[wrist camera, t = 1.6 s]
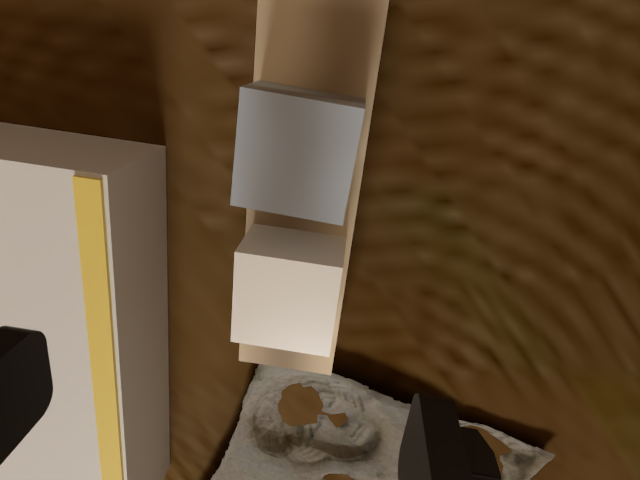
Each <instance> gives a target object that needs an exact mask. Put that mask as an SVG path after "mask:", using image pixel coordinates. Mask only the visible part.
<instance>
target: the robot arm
mask: <svg viewBox="0 0 640 480" xmlns="http://www.w3.org/2000/svg"><path fill="white" fill-rule="evenodd" d="M52 394H53V382H52V375H51V368H50V361H49V354H48V347H47V340H46V337H45V335H44V334H43V333H42V332H41V331H36V330H30V329H24V328H18V327H11V326H1V327H0V465H1V464H2V463H3V462H4V461H5V459H6V458H7V457H8V456H9V455H10V454H11V452H12V451H13V450H14V449H15V448H16V447H17V446H18V444H19V443H20V442H21V441H22V440H23V439H24V437H25V436H26V435H27V434H28V433H29V432H30V431H31V429H32V428H33V427H34V426H35V425H36V424H37V422H38V421H39V420H40V419H41V418H42V417H43V415H44V414H45V412H46V411H47V409H48V407H49V404H50V402H51V399H52ZM398 480H501V474H500V471H499V467H498V464H497V461H496V458H495V455H494V452H493V450H492V449H491V448H490V446H489V445H488V444H487V442H486V441H485V440H484V438H483V437H482V436H481V434H480V433H479V432H478V430H477V429H472V428H466V427H460V424H459V420H458V416H457V412H456V408H455V404H454V401H453V400H452V399H451V398H445V397H439V396H433V395H426V394H420V393H416V394H415V395H414V397H413V400H412V404H411V407H410V411H409V415H408V419H407V423H406V426H405V430H404V434H403V438H402V442H401V446H400V451H399V459H398Z"/></svg>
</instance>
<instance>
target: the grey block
mask: <svg viewBox="0 0 640 480" xmlns="http://www.w3.org/2000/svg"><path fill="white" fill-rule="evenodd" d="M365 104H366V99H365V98H359V97H353V96H348V95H342V94H336V93H331V92H325V91H319V90H314V89H308V88H302V87H297V86H291V85H285V84H280V83H274V82H268V81H263V80H259V81H256V82H253V83H250V84H247V85H244V86H241V87H240V94H239V106H238V118H237V130H236V142H235V154H234V166H233V178H232V190H231V202H230V205H232V206H238V207H243V208H248V209H254V210H259V211H265V212H270V213H276V214H281V215H286V216H292V217H297V218H303V219H308V220H314V221H319V222H324V223H330V224H335V225H341V226H343V222H344V216H345V211H346V206H347V201H348V196H349V191H350V185H351V180H352V175H353V170H354V165H355V159H356V154H357V149H358V144H359V139H360V133H361V128H362V123H363V118H364V113H365Z"/></svg>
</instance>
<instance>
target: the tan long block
mask: <svg viewBox="0 0 640 480" xmlns="http://www.w3.org/2000/svg"><path fill="white" fill-rule="evenodd" d="M388 5H389V0H258V6H257V25H256V44H255V63H254V82H256V81H259V80H263V81H268V82H274V83H280V84H285V85H291V86H297V87H302V88H308V89H314V90H319V91H325V92H331V93H336V94H342V95H348V96H353V97H359V98H365V99H366V104H365V113H364V118H363V123H362V128H361V133H360V139H359V144H358V149H357V154H356V159H355V165H354V170H353V175H352V180H351V185H350V191H349V196H348V201H347V206H346V211H345V216H344V222H343V226H341V225H335V224H330V223H324V222H319V221H314V220H308V219H303V218H297V217H292V216H286V215H281V214H276V213H270V212H265V211H259V210H254V209H248V208H247V215H246V234H247V232H248V231H249V229H250V227H251V226H252V224H253V223H254V224H261V225H268V226H275V227H282V228H289V229H295V230H302V231H309V232H316V233H323V234H330V235H337V236H344V237H347V240H346V248H345V256H344V264H343V271H342V278H341V285H340V291H339V298H338V305H337V311H336V318H335V324H334V331H333V338H332V344H331V351H330V357H325V356H318V355H312V354H306V353H299V352H293V351H287V350H280V349H274V348H268V347H261V346H255V345H249V344H243V343H240V347H239V361H244V362H250V363H257V364H263V365H269V366H275V367H282V368H288V369H294V370H301V371H307V372H313V373H319V374H326V375H331V373H332V367H333V360H334V354H335V347H336V341H337V335H338V328H339V322H340V315H341V309H342V302H343V296H344V289H345V283H346V276H347V270H348V263H349V257H350V251H351V244H352V238H353V231H354V225H355V218H356V212H357V205H358V199H359V192H360V186H361V179H362V173H363V166H364V160H365V154H366V147H367V141H368V134H369V128H370V121H371V115H372V108H373V102H374V95H375V89H376V82H377V76H378V70H379V63H380V57H381V50H382V44H383V37H384V31H385V24H386V18H387V11H388ZM246 234H245V235H246Z"/></svg>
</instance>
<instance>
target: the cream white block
mask: <svg viewBox="0 0 640 480" xmlns="http://www.w3.org/2000/svg"><path fill="white" fill-rule="evenodd" d="M346 240H347V237H344V236H337V235H330V234H323V233H316V232H309V231H302V230H295V229H289V228H282V227H275V226H268V225H261V224H254V223H253V224H252V226H251V227H250V229H249V231H248V232H247V234H246V235H245V237H244V238H243V240H242V241H241V243H240V244H239V246H238V247H237V249H236V250H235V254H234V277H233V300H232V323H231V342H236V343H243V344H249V345H255V346H261V347H268V348H274V349H280V350H287V351H293V352H299V353H306V354H312V355H318V356H325V357H330V351H331V344H332V338H333V331H334V324H335V318H336V311H337V305H338V298H339V291H340V285H341V278H342V271H343V264H344V256H345V248H346Z"/></svg>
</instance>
